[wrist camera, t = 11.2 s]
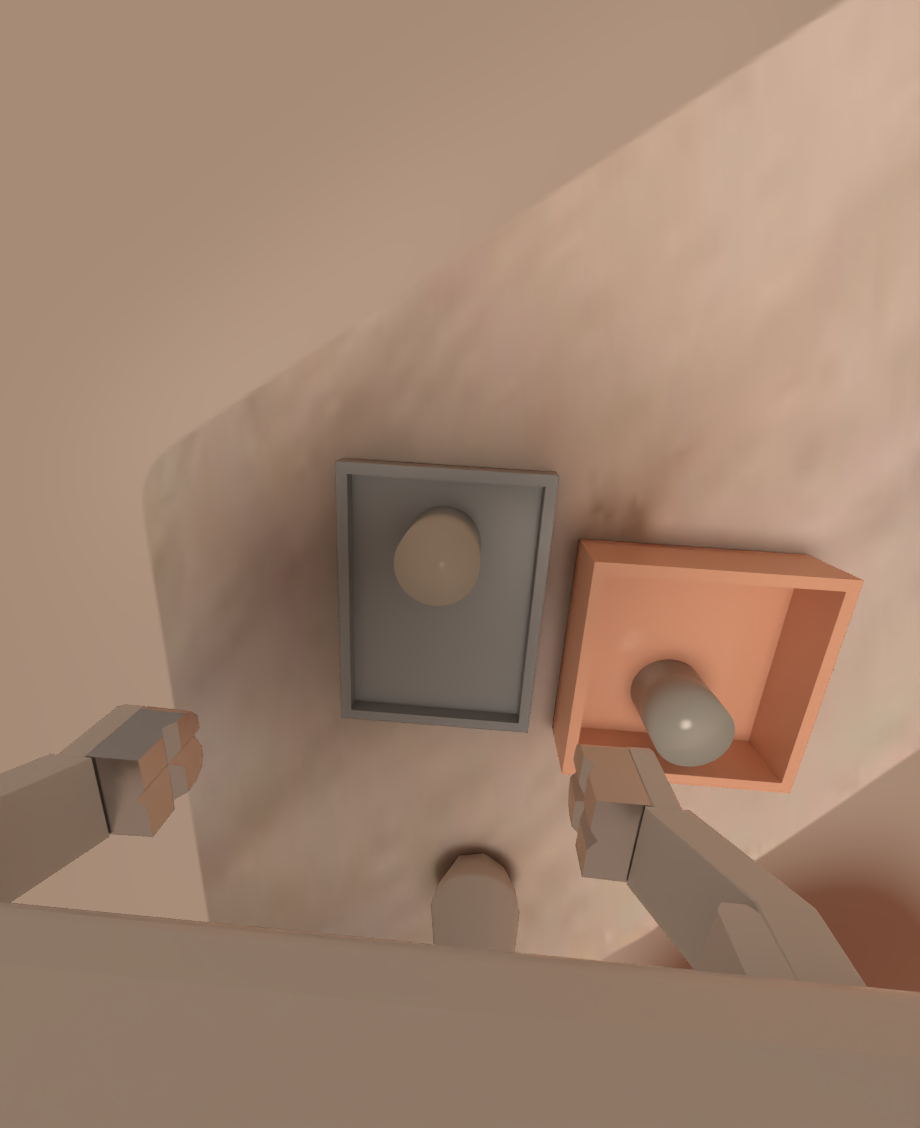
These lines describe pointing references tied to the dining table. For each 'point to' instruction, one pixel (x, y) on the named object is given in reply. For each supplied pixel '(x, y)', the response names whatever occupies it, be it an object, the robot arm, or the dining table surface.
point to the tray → (451, 632)
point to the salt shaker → (475, 906)
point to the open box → (703, 650)
